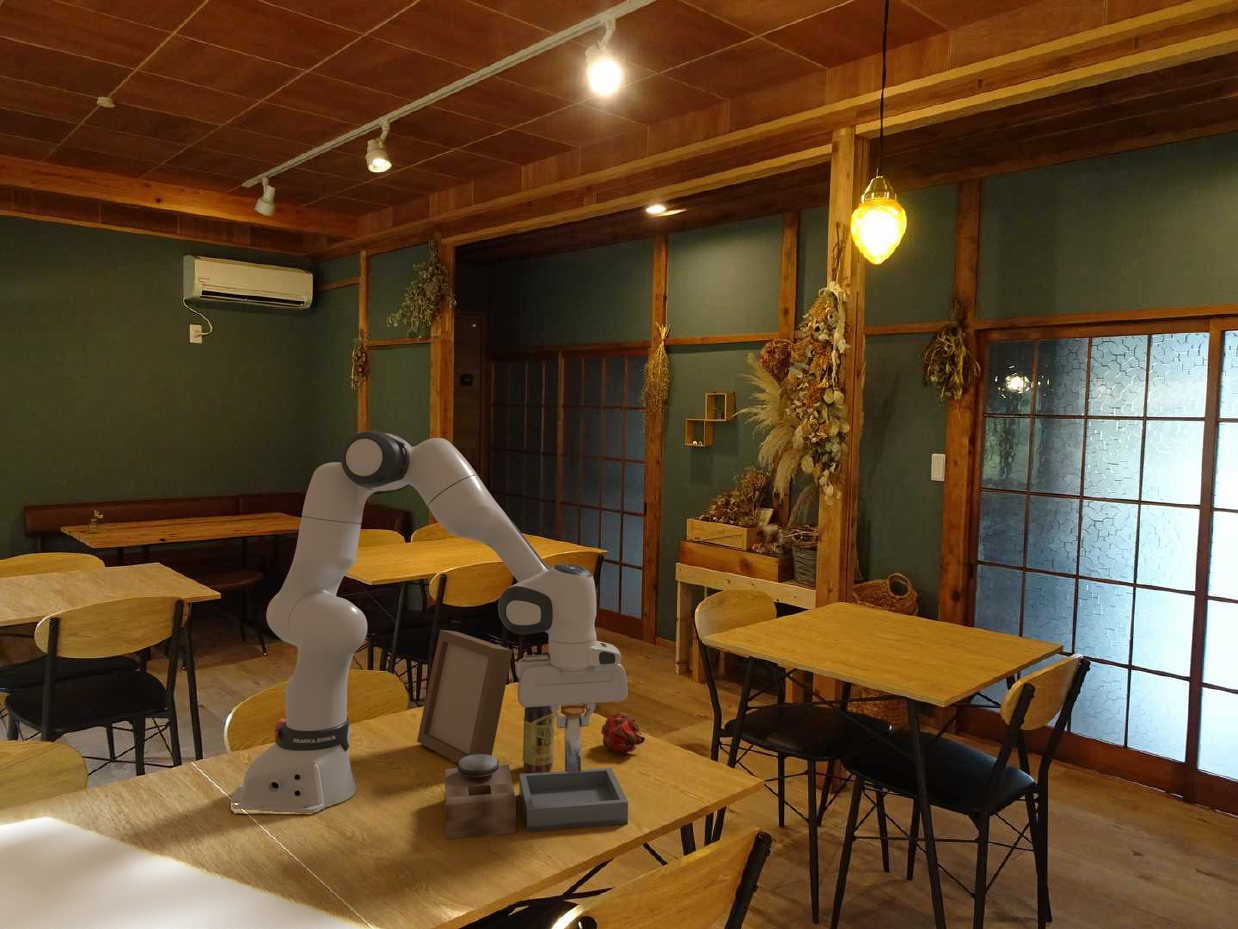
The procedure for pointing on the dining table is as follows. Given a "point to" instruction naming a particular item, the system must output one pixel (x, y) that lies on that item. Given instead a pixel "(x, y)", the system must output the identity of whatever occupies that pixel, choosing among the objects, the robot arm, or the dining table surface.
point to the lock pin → (573, 736)
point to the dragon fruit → (621, 733)
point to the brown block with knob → (479, 798)
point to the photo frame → (464, 696)
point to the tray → (572, 799)
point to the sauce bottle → (538, 739)
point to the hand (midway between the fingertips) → (572, 726)
